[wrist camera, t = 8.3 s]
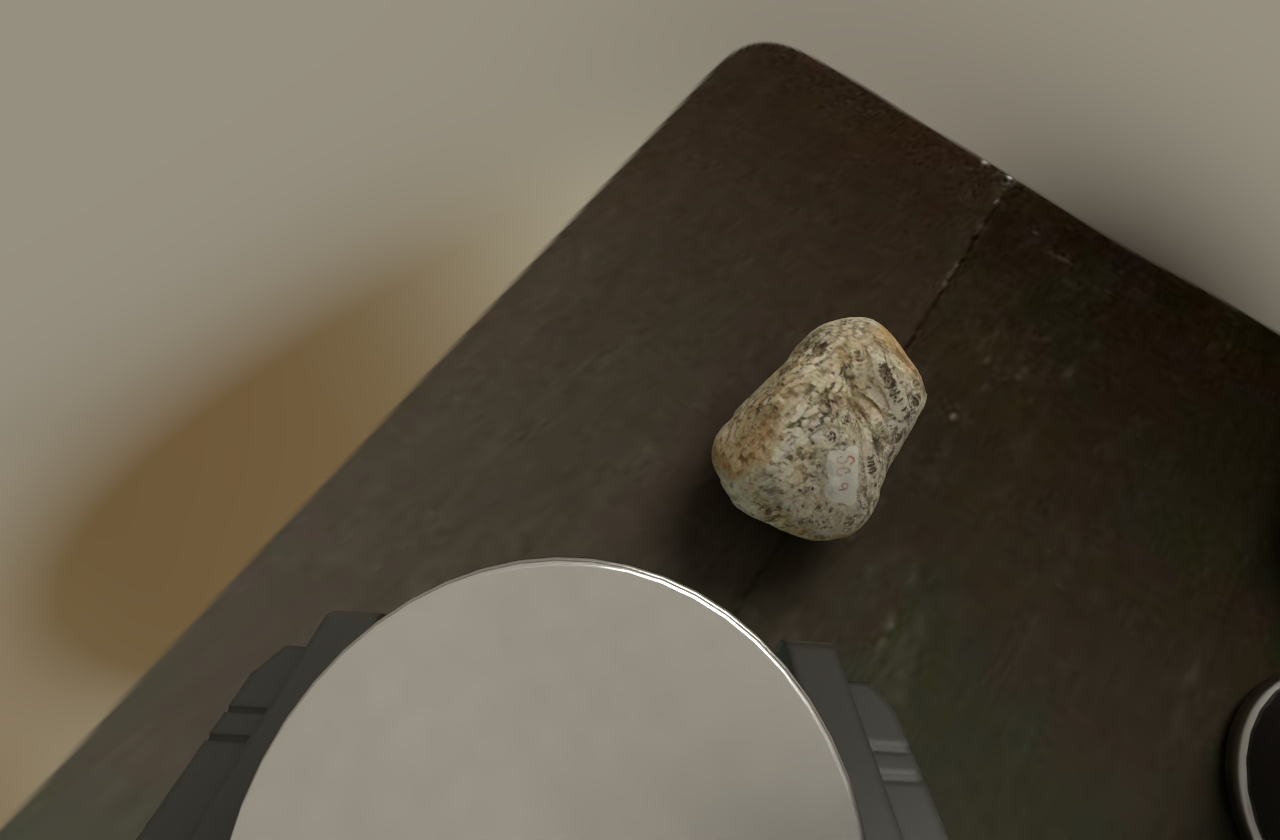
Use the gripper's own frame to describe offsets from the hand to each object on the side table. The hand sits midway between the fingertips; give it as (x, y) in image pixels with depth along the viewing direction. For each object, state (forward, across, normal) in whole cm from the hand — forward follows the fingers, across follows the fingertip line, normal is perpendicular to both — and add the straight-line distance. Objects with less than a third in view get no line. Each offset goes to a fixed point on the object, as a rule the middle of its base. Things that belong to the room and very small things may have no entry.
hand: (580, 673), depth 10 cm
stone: (+18, -8, +5) cm, 20 cm away
